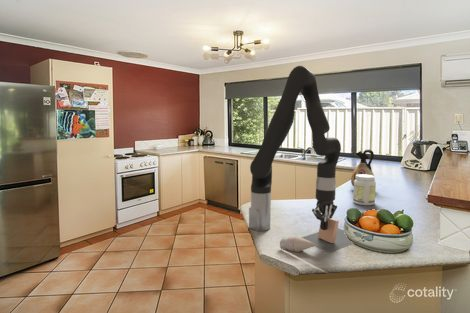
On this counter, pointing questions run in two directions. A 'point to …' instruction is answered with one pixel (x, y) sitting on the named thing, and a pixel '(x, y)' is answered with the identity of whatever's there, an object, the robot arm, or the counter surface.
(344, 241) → the mat
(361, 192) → the supplement tub
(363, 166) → the ceramic jug
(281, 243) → the ice cream cone
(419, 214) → the counter surface
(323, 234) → the tile
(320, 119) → the robot arm
